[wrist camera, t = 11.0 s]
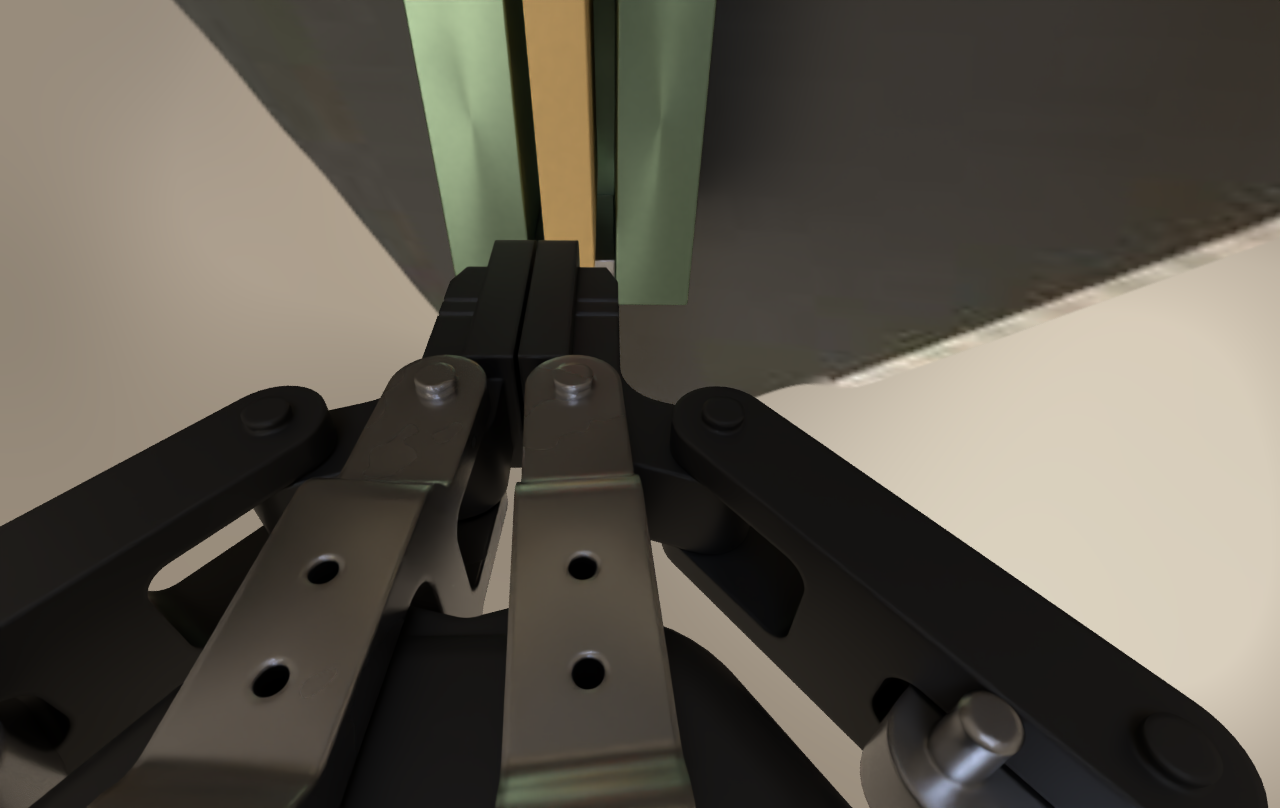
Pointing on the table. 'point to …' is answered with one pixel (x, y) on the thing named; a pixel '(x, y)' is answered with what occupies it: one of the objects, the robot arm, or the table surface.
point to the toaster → (626, 132)
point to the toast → (564, 118)
